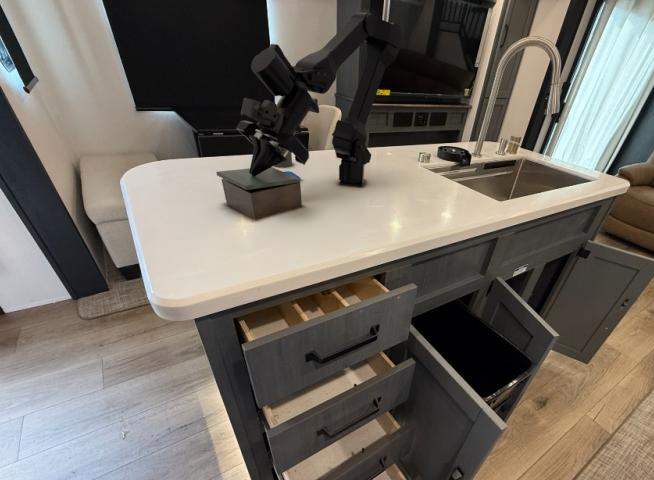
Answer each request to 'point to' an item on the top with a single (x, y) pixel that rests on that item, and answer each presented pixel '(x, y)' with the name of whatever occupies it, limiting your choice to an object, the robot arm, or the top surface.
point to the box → (263, 199)
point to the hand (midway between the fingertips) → (251, 174)
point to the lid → (257, 178)
